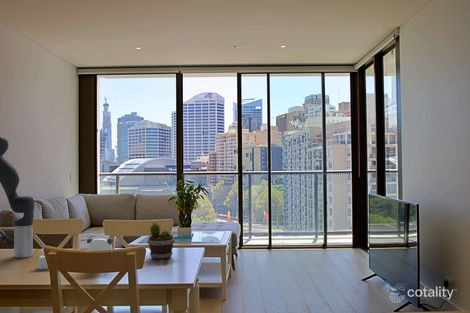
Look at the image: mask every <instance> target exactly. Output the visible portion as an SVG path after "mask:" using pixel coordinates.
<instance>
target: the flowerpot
mask: <svg viewBox="0 0 470 313" xmlns="http://www.w3.org/2000/svg"><path fill="white" fill-rule="evenodd" d="M149 232H150V236H149V237H148V239H147V241H146V242H147V245H149V246H148V247H149V250H150V252H149V255H150V257H151V259H152V260H154V261H155V260H156V261H165V260H170V259H171V257H172V256H173V254H174V253H173V248H174V247H173V246H174V244H175V242H176V239H175V238H174V236H173V234H170V233H169V231H168V230H166V229H165V228H164V230H162V231H161V225H159V224H158V223H157V222H156V221H153V223H152V224H151V226H150V228H149Z"/></svg>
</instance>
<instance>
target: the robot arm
mask: <svg viewBox="0 0 470 313" xmlns="http://www.w3.org/2000/svg"><path fill="white" fill-rule="evenodd" d="M8 149H9V141H8V139H7V138H5V137H2V136H0V184H1V187H2V189H3V191H4V193H5V195H6V198H7V201H8V204H9V206H10V209H11V211H12V213H16V214H23V215H22V217H21V218H19V219H18V218H17V219H16V220H14V225H13V226H14V228H13V229H14V232H13V233H14V235H13V236H14V237H13V238H14V239H13V240H14V241H13V240H12V239H10V238H9V236H8V235H7V234H6V233H5V232H4V230H2V229H1V228H0V240H1V241H2V242H5V243H6V244H7V245H9V246H10V247H12V246H13V249H14V251H13V257H14V258H18V259H23V258H25V259H26V258H30V257H33V253H34V252H33V251H34V250H33V247H34V246H33V245H34V244H33V243H34V242H33V241H34V240H33V235H34V234H33V233H34V232H33V231H34V228H33V227H34V226H33V225H34V217H35V216H34V213H35V212H34V211H35V210H34V209H35V199H34V197H32V196H30V195H29V196H28V195H27V196H23V195H22V196H20V195H18V193H17V190H18V189H17V188H18V187H19V183H20V176H19V174H18V172H17V170H16V168H15V167H14V165H13V164H11V162H9V161H8V159H6V158H5V157H4V155H5V153H7V151H8Z"/></svg>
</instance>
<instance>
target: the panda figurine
mask: <svg viewBox="0 0 470 313" xmlns="http://www.w3.org/2000/svg"><path fill="white" fill-rule="evenodd" d="M113 242H114V238H112V237H109V238H108V239H107V238H94V239H93V238H91V237H90V238H87V240H86V243H87V244H88V246H87V249H86V251H87V250H112V251H113V246H112V243H113Z"/></svg>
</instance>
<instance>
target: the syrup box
mask: <svg viewBox="0 0 470 313" xmlns="http://www.w3.org/2000/svg"><path fill="white" fill-rule="evenodd" d="M37 268H38V270H47V269H48V267H47V263H46V259H45V256H44V254H43V255H39V256H38V260H37Z"/></svg>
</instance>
